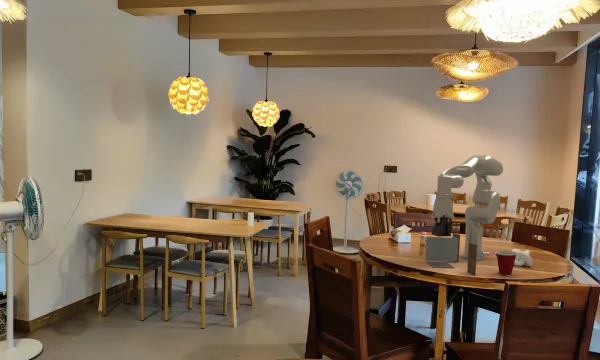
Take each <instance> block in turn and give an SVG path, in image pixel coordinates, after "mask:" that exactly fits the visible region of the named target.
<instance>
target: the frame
mask: <svg viewBox="0 0 600 360" xmlns="http://www.w3.org/2000/svg"><path fill="white" fill-rule="evenodd" d="M451 238H458V253H457V261H453V263H459V261H460V245H461V244H460V243H461V234H459V233H457V232H452V235H451ZM476 258H477V244H475V243H473V242H469V250H468V259H467V270H466V272H467V273H469V274H470V275H471V276H476V272H477V270H476V269H477V260H476Z"/></svg>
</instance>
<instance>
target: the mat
mask: <svg viewBox="0 0 600 360" xmlns="http://www.w3.org/2000/svg"><path fill="white" fill-rule="evenodd" d="M426 263H427V264H428V265H429V266H430V267H431V268H434V269H435V268H437V269H455V267H454V266H453V265H452V264H451V263H449V261H426Z"/></svg>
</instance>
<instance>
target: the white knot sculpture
mask: <svg viewBox="0 0 600 360" xmlns="http://www.w3.org/2000/svg"><path fill="white" fill-rule="evenodd" d="M511 251H514V252H517V255H516V259H515V262H514V266H515V265H516V266H515V267H522V266H523V265H524V266H526V267H528V266H530V267H531V266H533V259H532V258H531V256H530V255H531V252H530V250H529V249H526V250H524V251H523V250H520V249H518V248H513V249H512V250H511Z"/></svg>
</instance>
